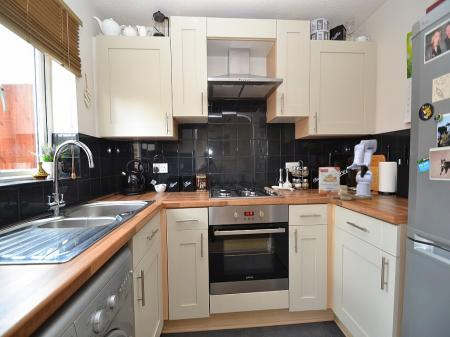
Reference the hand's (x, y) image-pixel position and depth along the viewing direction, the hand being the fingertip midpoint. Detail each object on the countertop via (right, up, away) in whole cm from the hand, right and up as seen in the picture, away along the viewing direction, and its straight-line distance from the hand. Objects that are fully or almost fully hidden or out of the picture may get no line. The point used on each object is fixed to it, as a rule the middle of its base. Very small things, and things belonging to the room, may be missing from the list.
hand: (356, 178), depth 141 cm
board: (0, -14, +9) cm, 16 cm away
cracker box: (-4, -14, +28) cm, 32 cm away
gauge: (-5, -14, +6) cm, 16 cm away
